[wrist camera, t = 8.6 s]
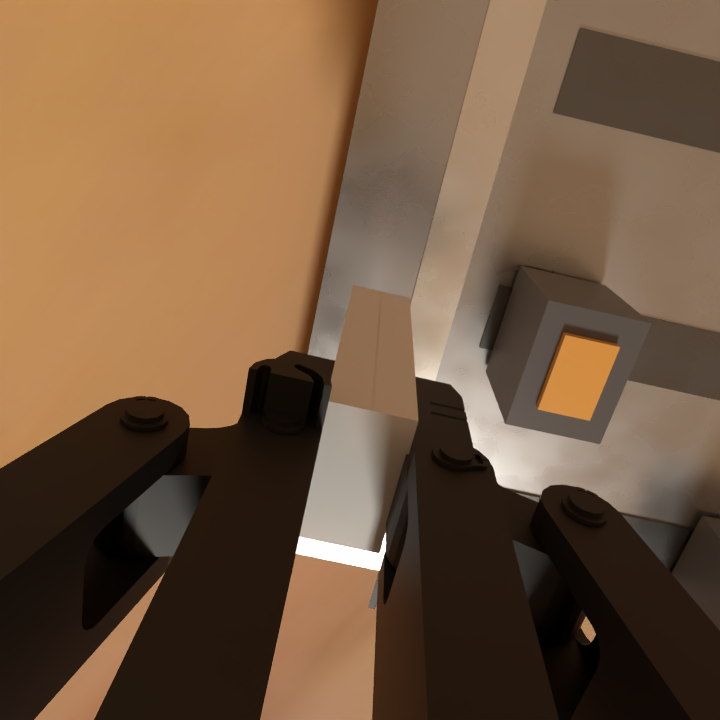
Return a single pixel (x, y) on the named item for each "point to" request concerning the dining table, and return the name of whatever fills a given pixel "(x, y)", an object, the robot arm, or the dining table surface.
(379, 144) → the panel
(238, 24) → the dining table surface
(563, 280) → the breaker mid
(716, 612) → the block
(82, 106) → the dining table surface
